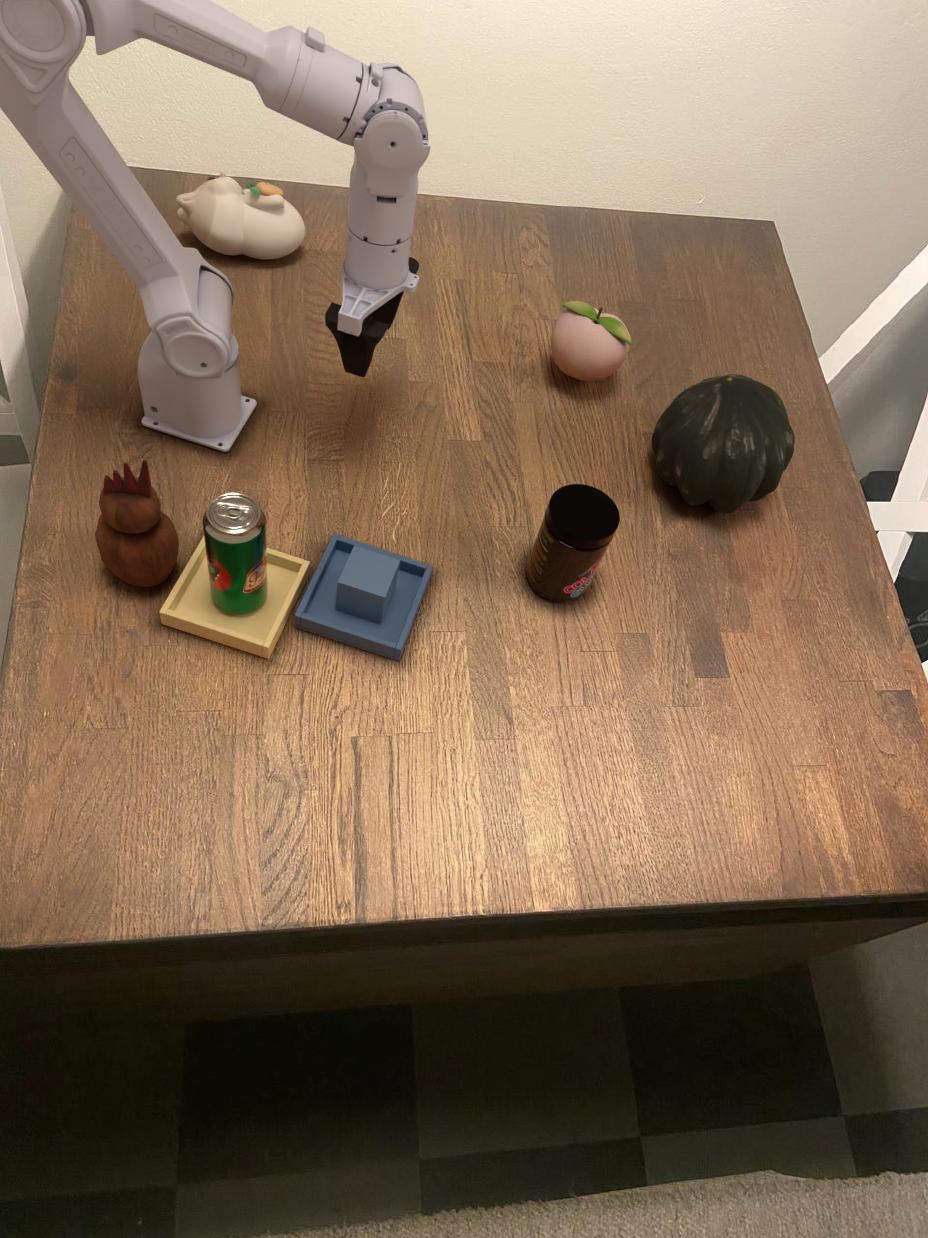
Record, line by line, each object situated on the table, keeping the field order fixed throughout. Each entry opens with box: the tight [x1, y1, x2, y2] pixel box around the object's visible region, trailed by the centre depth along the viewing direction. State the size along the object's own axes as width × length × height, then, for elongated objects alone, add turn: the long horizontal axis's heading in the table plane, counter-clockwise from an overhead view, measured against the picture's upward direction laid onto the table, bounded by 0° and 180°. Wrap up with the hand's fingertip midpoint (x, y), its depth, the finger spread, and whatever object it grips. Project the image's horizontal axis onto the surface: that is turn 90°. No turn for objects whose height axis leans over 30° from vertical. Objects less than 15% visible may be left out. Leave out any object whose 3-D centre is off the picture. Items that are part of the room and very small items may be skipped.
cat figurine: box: [175, 171, 306, 260], centre depth 109 cm, size 10×8×15 cm
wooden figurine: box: [94, 459, 180, 588], centre depth 79 cm, size 7×6×15 cm
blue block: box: [335, 545, 400, 624], centre depth 85 cm, size 4×4×4 cm
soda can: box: [202, 492, 268, 615], centre depth 80 cm, size 5×5×12 cm
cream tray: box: [158, 535, 311, 660], centre depth 84 cm, size 10×10×2 cm
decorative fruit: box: [550, 300, 633, 383], centre depth 105 cm, size 9×8×10 cm
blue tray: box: [293, 533, 434, 662], centre depth 86 cm, size 10×10×2 cm
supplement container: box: [525, 483, 621, 603], centre depth 88 cm, size 7×7×10 cm
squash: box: [651, 373, 796, 514], centre depth 99 cm, size 14×15×15 cm
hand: (368, 348), depth 91 cm, fingers open, 7 cm apart
